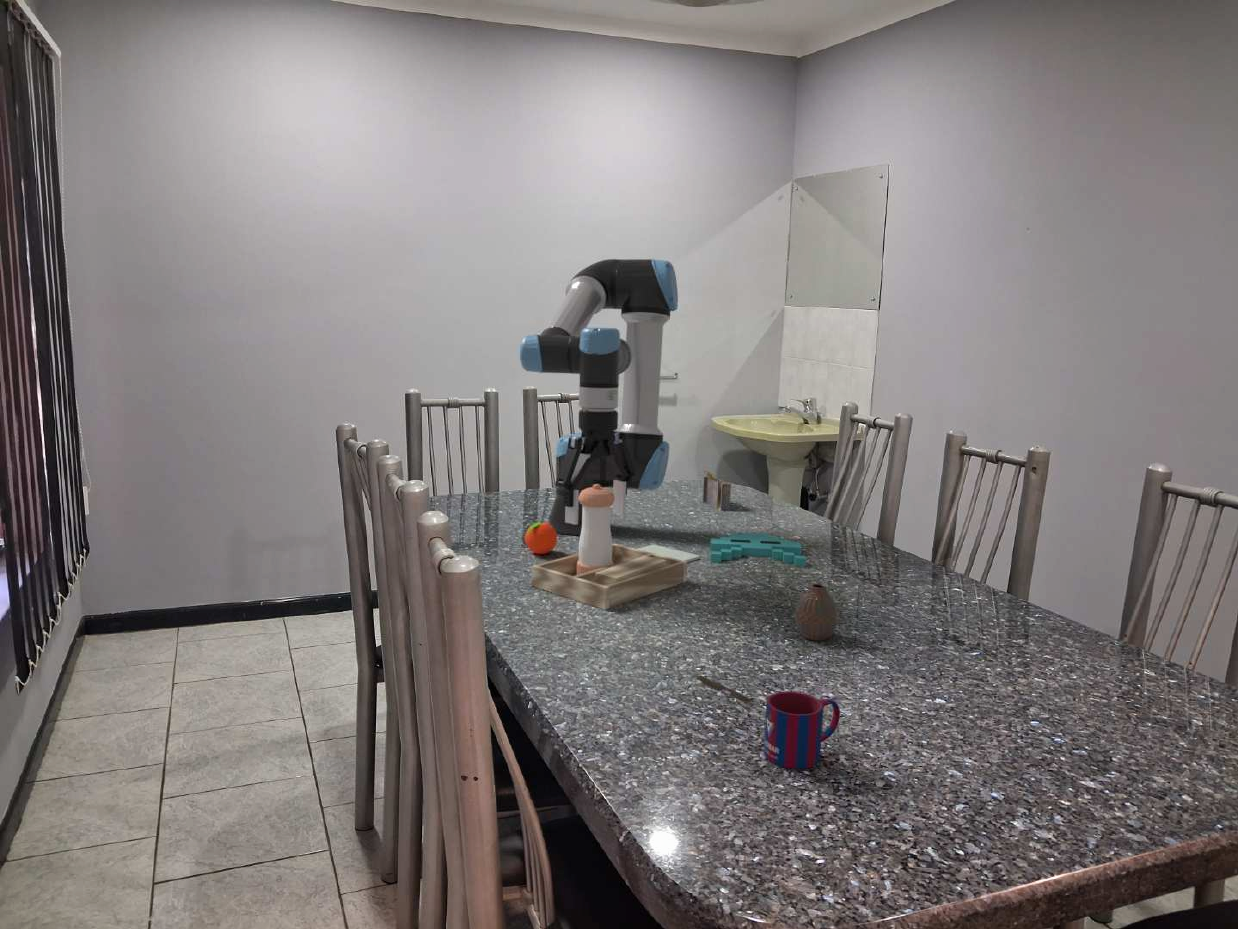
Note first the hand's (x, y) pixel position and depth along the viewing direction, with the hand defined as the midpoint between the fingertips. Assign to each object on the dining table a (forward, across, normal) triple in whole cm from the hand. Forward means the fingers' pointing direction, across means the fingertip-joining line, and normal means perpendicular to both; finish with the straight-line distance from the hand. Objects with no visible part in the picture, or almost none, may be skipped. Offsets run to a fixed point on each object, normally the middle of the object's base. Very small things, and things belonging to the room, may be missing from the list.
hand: (595, 518), depth 175 cm
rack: (+13, 0, -4) cm, 13 cm away
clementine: (+12, +5, +21) cm, 25 cm away
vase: (+13, +3, -47) cm, 49 cm away
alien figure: (+13, +41, -11) cm, 45 cm away
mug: (+14, -34, -66) cm, 75 cm away
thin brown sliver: (+14, -25, -48) cm, 55 cm away
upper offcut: (+10, +1, -9) cm, 14 cm away
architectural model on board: (+12, +74, +23) cm, 78 cm away
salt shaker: (+13, 0, 0) cm, 13 cm away
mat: (+12, +21, +1) cm, 25 cm away
